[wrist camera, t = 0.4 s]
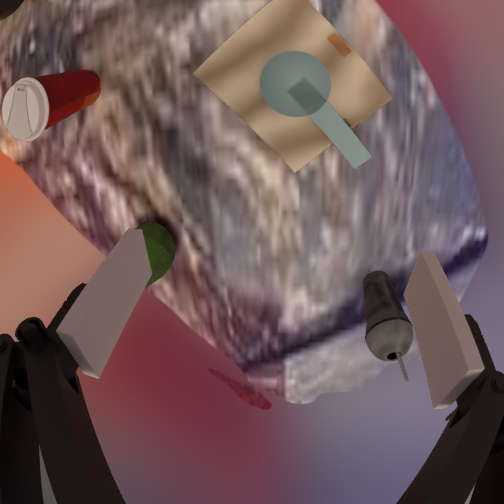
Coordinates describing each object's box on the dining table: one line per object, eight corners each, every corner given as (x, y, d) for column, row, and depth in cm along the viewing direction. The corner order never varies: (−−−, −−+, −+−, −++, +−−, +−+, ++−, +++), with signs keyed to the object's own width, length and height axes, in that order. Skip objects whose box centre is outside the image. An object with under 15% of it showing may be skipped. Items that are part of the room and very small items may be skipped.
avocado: (140, 249, 51) (110, 298, 42) (135, 210, 46) (99, 255, 37) (183, 257, 51) (160, 309, 41) (182, 216, 46) (154, 266, 37)
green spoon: (248, 79, 30) (244, 81, 27) (296, 39, 26) (297, 37, 24) (334, 171, 35) (338, 181, 32) (380, 137, 31) (388, 144, 29)
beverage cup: (347, 281, 50) (361, 387, 34) (381, 256, 46) (411, 362, 30) (371, 302, 52) (388, 401, 36) (403, 280, 49) (433, 380, 33)
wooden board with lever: (196, 72, 33) (186, 75, 30) (290, -11, 25) (290, -19, 22) (294, 168, 40) (295, 180, 37) (389, 96, 32) (399, 101, 29)
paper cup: (70, 60, 32) (1, 77, 21) (111, 66, 33) (44, 82, 22) (63, 108, 37) (-1, 139, 25) (101, 117, 37) (39, 151, 26)
